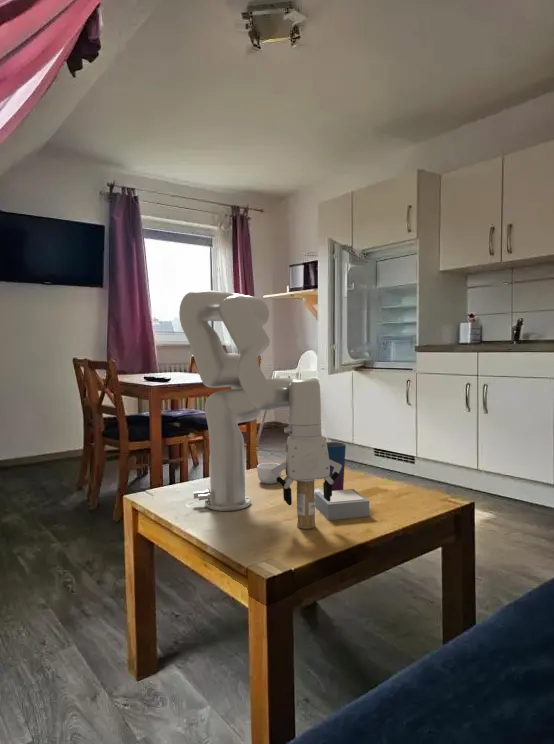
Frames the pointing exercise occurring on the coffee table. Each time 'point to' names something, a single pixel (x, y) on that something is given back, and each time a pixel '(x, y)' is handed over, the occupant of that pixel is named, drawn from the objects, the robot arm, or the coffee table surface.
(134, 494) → the coffee table surface
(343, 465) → the cup
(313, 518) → the sprinkles bottle
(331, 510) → the base
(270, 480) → the teacup
